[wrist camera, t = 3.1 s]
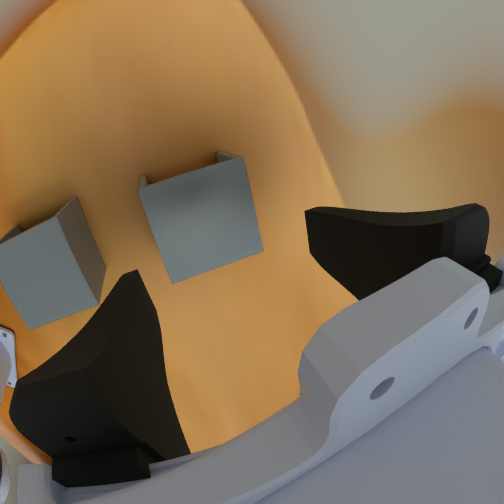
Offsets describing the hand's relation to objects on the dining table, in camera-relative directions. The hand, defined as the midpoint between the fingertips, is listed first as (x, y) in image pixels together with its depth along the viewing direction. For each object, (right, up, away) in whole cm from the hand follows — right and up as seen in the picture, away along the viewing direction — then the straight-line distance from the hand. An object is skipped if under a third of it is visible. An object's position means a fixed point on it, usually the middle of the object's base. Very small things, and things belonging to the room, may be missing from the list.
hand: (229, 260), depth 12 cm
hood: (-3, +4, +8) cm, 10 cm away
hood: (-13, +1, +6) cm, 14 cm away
